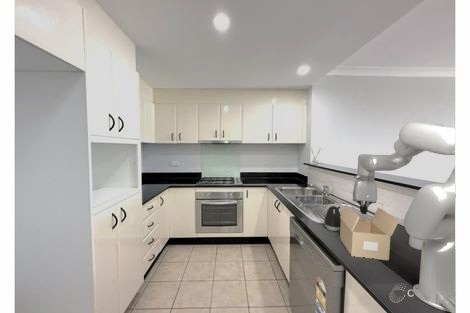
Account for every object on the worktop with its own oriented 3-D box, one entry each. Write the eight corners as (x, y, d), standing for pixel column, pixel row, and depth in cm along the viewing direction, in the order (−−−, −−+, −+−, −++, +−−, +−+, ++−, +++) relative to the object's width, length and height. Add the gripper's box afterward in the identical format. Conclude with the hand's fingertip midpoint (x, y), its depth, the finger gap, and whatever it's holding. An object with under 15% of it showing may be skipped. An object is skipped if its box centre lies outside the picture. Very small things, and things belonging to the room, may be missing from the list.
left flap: (340, 217, 120) (339, 217, 120) (346, 205, 119) (345, 204, 119) (352, 231, 101) (351, 231, 101) (359, 217, 100) (358, 216, 100)
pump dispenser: (345, 231, 130) (346, 207, 129) (333, 234, 126) (334, 209, 125) (332, 225, 140) (333, 203, 139) (320, 227, 136) (321, 204, 135)
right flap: (390, 235, 98) (391, 235, 97) (397, 220, 97) (399, 220, 96) (372, 220, 117) (373, 220, 117) (378, 207, 116) (379, 207, 116)
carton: (388, 260, 98) (390, 236, 97) (351, 256, 101) (352, 232, 101) (370, 241, 118) (371, 220, 117) (339, 238, 121) (340, 218, 120)
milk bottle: (421, 251, 106) (424, 213, 105) (405, 244, 114) (407, 208, 113) (432, 250, 109) (434, 212, 107) (415, 243, 116) (418, 207, 115)
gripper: (352, 178, 105) (350, 214, 106) (385, 180, 102) (383, 217, 103) (347, 176, 112) (345, 210, 114) (378, 178, 109) (376, 212, 111)
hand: (363, 213), depth 109 cm, fingers closed
